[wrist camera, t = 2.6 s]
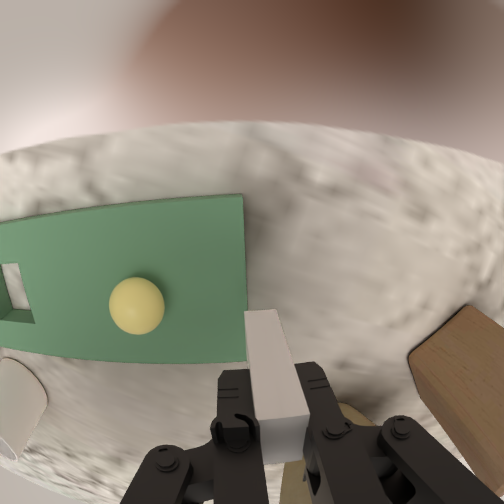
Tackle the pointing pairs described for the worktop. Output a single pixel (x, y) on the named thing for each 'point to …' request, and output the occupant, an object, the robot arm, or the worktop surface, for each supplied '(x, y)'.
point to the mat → (127, 266)
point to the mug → (18, 407)
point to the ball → (136, 305)
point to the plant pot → (293, 488)
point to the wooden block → (467, 389)
